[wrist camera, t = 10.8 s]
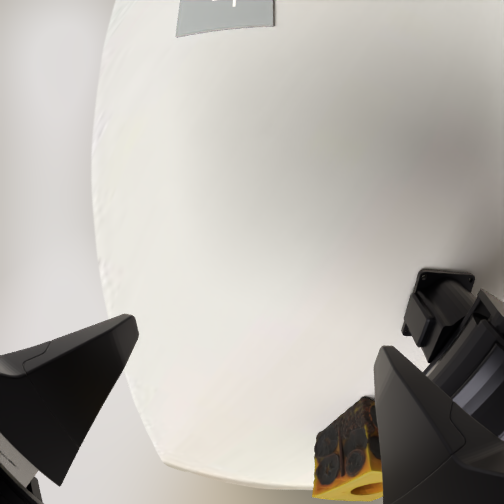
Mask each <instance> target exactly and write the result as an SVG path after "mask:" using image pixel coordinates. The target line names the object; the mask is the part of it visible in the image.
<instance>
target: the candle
mask: <svg viewBox="0 0 504 504" xmlns="http://www.w3.org/2000/svg"><path fill="white" fill-rule="evenodd" d="M314 451H315V456H314V459H315V472H314V477H315V480H314V488H313V494H312V497H315V498H321V499H329V500H344V501H372V500H375V499H378V498H380V497H383V481H382V465H381V452H380V442H379V432H378V424H377V416H376V408H375V402H374V401H372V400H370V399H368V398H364V397H363V398H361V399H360V400H359V401H358V402H357V403H355V404H354V405H353V406H352V407H351V408H349V409H348V410H347V411H346V412H345V413H344V414H342V415H341V416H339V418H338V419H337V420H335V421H334V422H333V423H332V424H330V425H329V426H328V427H327V428H326V429H324V430H323V431H321V432H320V433H318V435H317V437H316V444H315V447H314Z"/></svg>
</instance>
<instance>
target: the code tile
mask: <svg viewBox="0 0 504 504" xmlns="http://www.w3.org/2000/svg"><path fill="white" fill-rule="evenodd" d="M272 26H273V0H180V6H179V13H178V21H177V29H176V37H177V38H178V37H182V36H187V35H193V34H198V33H204V32H211V31H218V30H227V29H236V28H249V27H272Z"/></svg>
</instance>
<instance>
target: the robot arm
mask: <svg viewBox="0 0 504 504" xmlns="http://www.w3.org/2000/svg"><path fill="white" fill-rule="evenodd" d="M423 275H425V277H424V278H422V276H423ZM470 278H471V279H470ZM469 279H470V280H469ZM474 280H475V277H474V275H472V274H471V273H459V272H446V271H432V270H421V271H420V272H419V273H418V276H417V280H416V284H415V288H414V291H413V293H412V294H411V296H410V300H409V303H408V307H407V310H406V313H405V316H404V320H405V321H404V324H403V327H402V330H401V331H402V334H403V335H404V336H412V337H413V339H414V341H415V343H416V345H417V347H421V348H422V350H423V353H424V355H425V357H426V359H427V361H428V363H430V365H429V366H428V367H427V368H426V369H425V370H424V372H422V371H420V370H419V369H418V368H417V367H416V366H415V365H414V364H413V363H412V362H410V361H409V360H408V359H407V358H406V357H405V356H404V355H403V354H401V353H400V352H399V351H398V350H397V349H396V348H395V347H393V346H382V347H381V348H380V350H379V353H378V356H377V358H376V361H375V364H374V384H375V408H376V416H377V424H378V432H379V442H380V452H381V465H382V481H383V504H504V302H502V301H500V300H499V299H497V298H496V297H494V296H493V295H491V294H490V293H488V292H486V291H485V290H483V289H480V291H479V293H478V297H477V299H476V298H475V297H474V296H473V295H472V294H471V290H472V287H473V284H474ZM406 330H408V331H406ZM138 337H139V332H138V328H137V324H136V319H135V317H134V316H133V315H129V314H122V315H120V316H117V317H114V318H111V319H109V320H106V321H103V322H101V323H98V324H95V325H92V326H90V327H87V328H84V329H82V330H79V331H76V332H74V333H70V334H68V335H65V336H62V337H59V338H57V339H54V340H52V341H48V342H45V343H43V344H40V345H37V346H34V347H30V348H27V349H23V350H19V351H16V352H12V353H8V354H5V355H0V504H43V502H42V498H41V493H40V489H39V484H38V480H37V478H35V477H34V476H35V474H36V473H37V472H38V470H39V471H40V472H41V473H43V474H44V475H45V476H46V477H48V478H49V479H50V480H51V481H53V482H54V483H55V484H57V485H58V486H61V484H62V482H63V480H64V478H65V476H66V474H67V472H68V470H69V468H70V466H71V464H72V462H73V460H74V458H75V456H76V454H77V452H78V450H79V447H80V446H81V444H82V442H83V440H84V439H85V437H86V435H87V433H88V431H89V429H90V427H91V426H92V424H93V422H94V420H95V418H96V416H97V415H98V413H99V411H100V409H101V407H102V406H103V404H104V402H105V400H106V399H107V397H108V395H109V393H110V392H111V390H112V388H113V386H114V385H115V383H116V381H117V380H118V378H119V376H120V374H121V373H122V371H123V369H124V367H125V365H126V363H127V361H128V359H129V357H130V355H131V353H132V350H133V348H134V346H135V344H136V342H137V340H138Z"/></svg>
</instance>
